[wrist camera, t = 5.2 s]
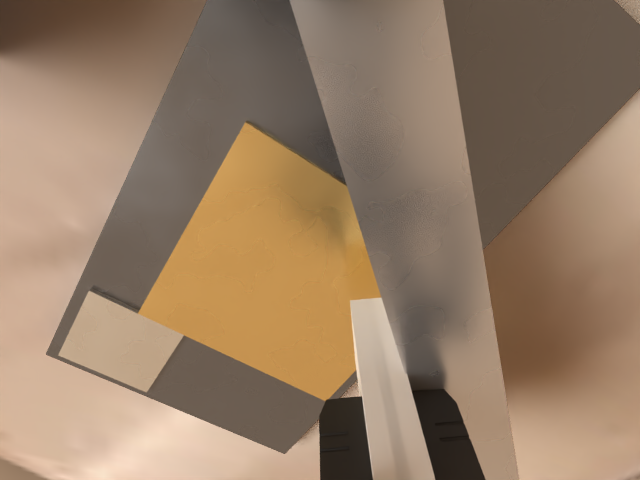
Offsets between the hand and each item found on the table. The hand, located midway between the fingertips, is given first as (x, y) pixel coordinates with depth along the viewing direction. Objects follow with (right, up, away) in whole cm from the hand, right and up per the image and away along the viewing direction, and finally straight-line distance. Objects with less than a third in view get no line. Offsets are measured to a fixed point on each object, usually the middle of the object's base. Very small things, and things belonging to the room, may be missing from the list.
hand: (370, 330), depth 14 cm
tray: (-2, +4, +1) cm, 5 cm away
